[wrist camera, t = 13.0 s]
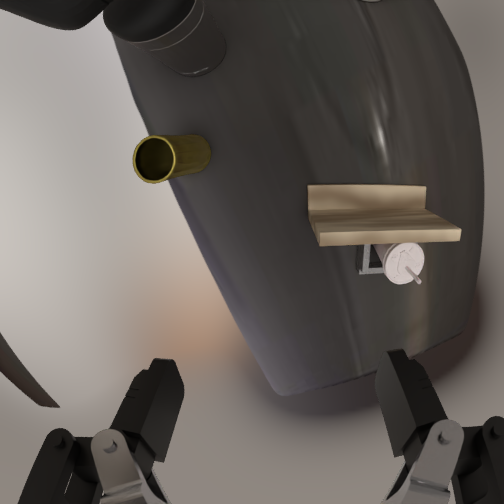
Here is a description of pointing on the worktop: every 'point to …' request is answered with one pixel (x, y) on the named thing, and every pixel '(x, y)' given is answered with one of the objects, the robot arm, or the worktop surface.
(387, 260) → the smoothie
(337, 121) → the worktop surface
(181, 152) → the vase
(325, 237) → the wall board
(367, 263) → the white u-shaped frame
